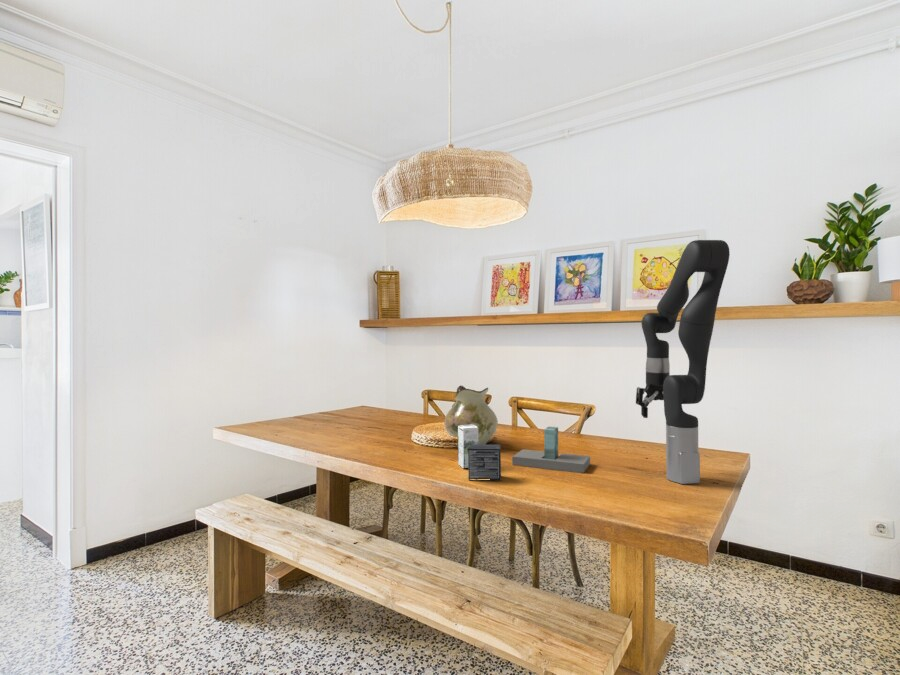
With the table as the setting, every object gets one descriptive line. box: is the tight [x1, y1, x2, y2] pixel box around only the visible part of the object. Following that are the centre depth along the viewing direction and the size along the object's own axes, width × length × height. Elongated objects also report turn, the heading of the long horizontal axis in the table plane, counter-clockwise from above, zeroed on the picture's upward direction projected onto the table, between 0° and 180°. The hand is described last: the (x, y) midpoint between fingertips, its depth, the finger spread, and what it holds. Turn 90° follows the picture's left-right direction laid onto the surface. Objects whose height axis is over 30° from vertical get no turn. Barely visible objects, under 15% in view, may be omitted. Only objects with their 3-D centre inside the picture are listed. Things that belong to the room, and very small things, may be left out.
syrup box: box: [457, 425, 478, 469], centre depth 169 cm, size 6×6×14 cm
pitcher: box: [444, 385, 498, 445], centre depth 202 cm, size 22×24×25 cm
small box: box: [467, 444, 502, 481], centre depth 155 cm, size 11×6×10 cm, turn 84°
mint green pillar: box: [543, 425, 559, 460], centre depth 171 cm, size 6×4×13 cm, turn 154°
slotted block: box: [511, 448, 591, 474], centre depth 171 cm, size 12×25×3 cm, turn 64°
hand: (657, 417), depth 165 cm, fingers open, 8 cm apart
